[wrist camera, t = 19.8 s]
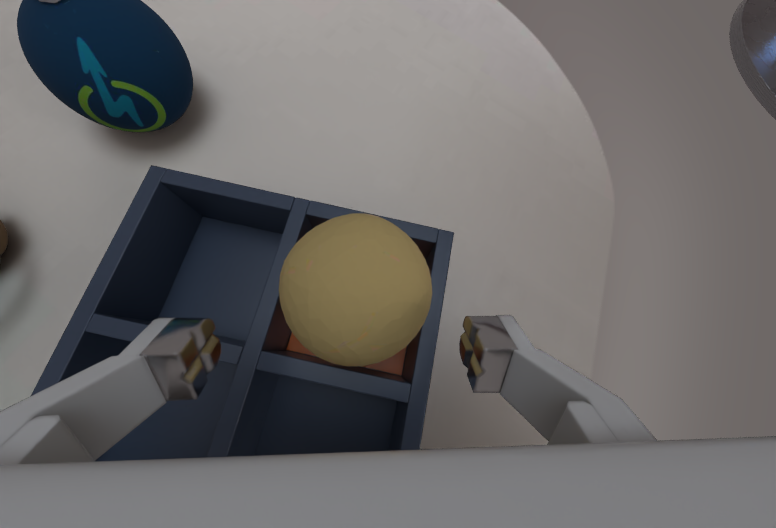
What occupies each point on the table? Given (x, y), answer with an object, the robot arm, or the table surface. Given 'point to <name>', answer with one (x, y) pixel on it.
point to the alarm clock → (3, 238)
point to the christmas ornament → (108, 60)
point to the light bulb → (355, 290)
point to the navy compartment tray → (243, 328)
